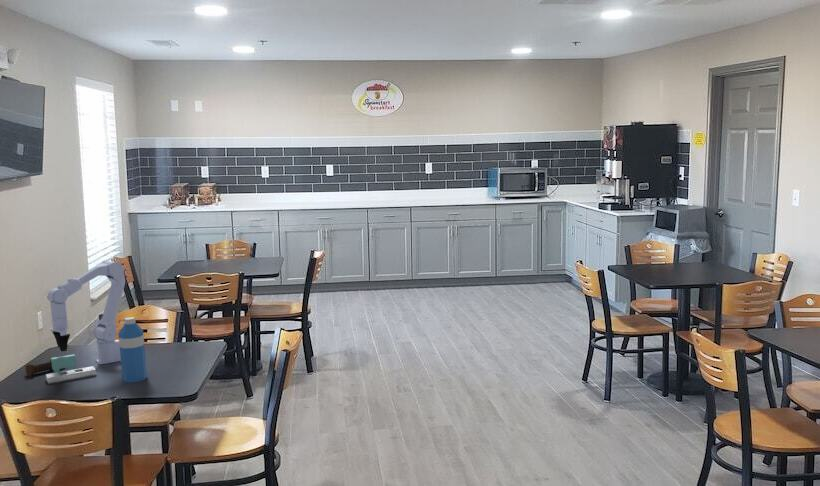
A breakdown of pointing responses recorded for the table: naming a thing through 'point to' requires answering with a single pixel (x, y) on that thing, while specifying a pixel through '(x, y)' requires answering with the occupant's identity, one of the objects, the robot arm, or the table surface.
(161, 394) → the table surface
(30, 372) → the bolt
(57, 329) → the robot arm
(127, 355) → the water bottle
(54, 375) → the rail
